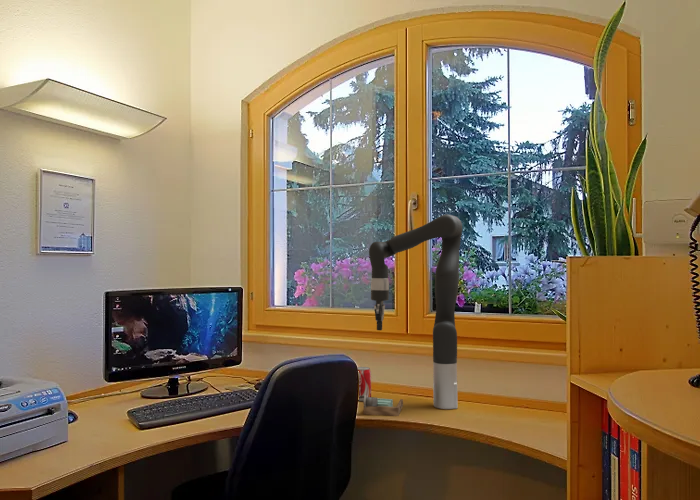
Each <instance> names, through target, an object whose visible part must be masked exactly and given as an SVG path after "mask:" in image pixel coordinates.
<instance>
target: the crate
mask: <svg viewBox="0 0 700 500" xmlns="http://www.w3.org/2000/svg"><path fill="white" fill-rule="evenodd" d="M376 398H377V399H378V404H377V406H387V407H394V399H391V398H378V397H376Z"/></svg>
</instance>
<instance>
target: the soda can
mask: <svg viewBox="0 0 700 500" xmlns="http://www.w3.org/2000/svg"><path fill="white" fill-rule="evenodd" d="M357 367H358V371H359V401H358V402H364V399H363V398H360V396H365V395H367V397H372V371H371V369H370V367H369V366H357Z"/></svg>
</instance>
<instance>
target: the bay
mask: <svg viewBox="0 0 700 500" xmlns="http://www.w3.org/2000/svg"><path fill="white" fill-rule="evenodd" d="M360 398H363V399H364V401H363V415H370V416H371V415H372V416H373V415H375V416H392V417H394V416H395V417H399V415H400V414H401V411H402V408H403V407H404V399H402V398H400V399H399V401H398V403H397V405H396V406H393V407H387V406H377V404H378V399H377V398H378V397H376V396H375V397H372V396H371V397H367V395H365V396H360Z"/></svg>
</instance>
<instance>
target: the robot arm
mask: <svg viewBox="0 0 700 500" xmlns="http://www.w3.org/2000/svg"><path fill="white" fill-rule="evenodd" d="M462 233H463V223H462V221H461V220H460V219H459V217H457V216H455V215H452V214H448V213H447V214H442V215H440V216H438V217H436V218H435V219H432V220H431V221H430V222H427V223H426V224H423V225H422V226H418V227H417V228H415V229H411V230H408V231H406V232H402V233H400V234H397V235H395V236H391V238H390V239H389V240H386V241H374V242H372V243H371V244H370V246H369V251H368V255H369V256H368V257H369V261H370V266H371V279H370V280H371V281H370V300H371V301H375V304H374V307H373V308H374V316H375V317H374V318H375V321H376V331H383V321H384V318H385V317H384V316H385V308H386V304H384V301H385V302H386V301H389V299H390V296H389V294H390V293H389V292H390V289H389V288H390V285H389V283H390V282H389V266H388V265H387V264H386V263H385V259H388V258H390V257H392V256H394V255H397V254H398V253H401V252H405V251H408V250H411V249H413V248H414V247H417V246H419V245H420V244H423V243H425V242H426V241H429V240H434V239H438V238H441V253H440V256H439V258H438V261H437V265H436V268H435V278H434V295H435V296H434V297H435V317H434V323H433V328H432V365H433V366H432V367H433V368H432V369H433V370H432V372H433V375H432V376H433V377H432V378H433V383H432V385H433V387H432V389H433V390H432V391H433V400H432V401H433V407H435V408H437V409H442V410H443V409H444V410H452V409H458V333H457V329H456V321H455V318H456V317H455V315H456V314H455V307H456V303H457V298H458V291H459V280H460V278H459V277H460V250H461V249H460V247H461V239H462Z"/></svg>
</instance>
